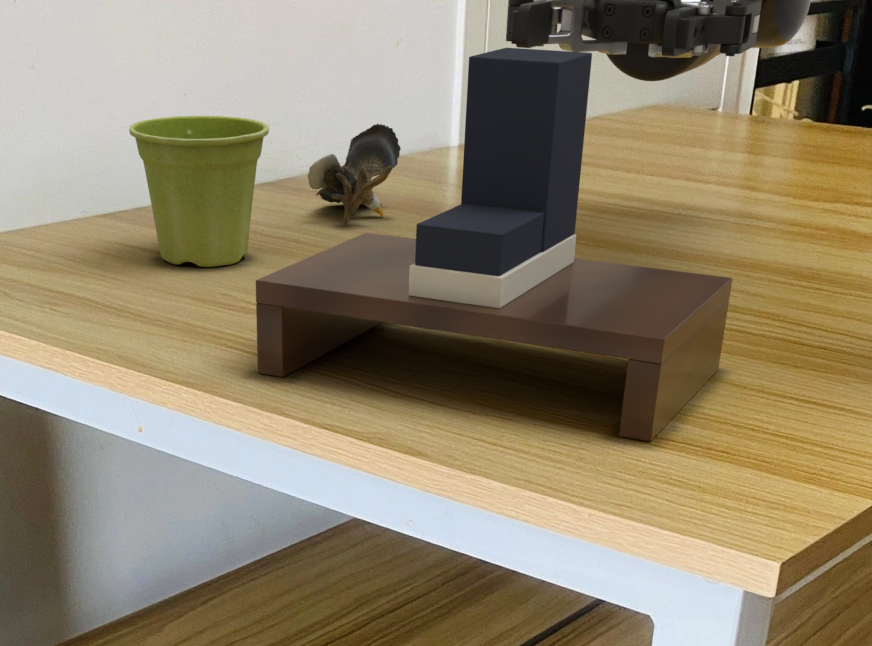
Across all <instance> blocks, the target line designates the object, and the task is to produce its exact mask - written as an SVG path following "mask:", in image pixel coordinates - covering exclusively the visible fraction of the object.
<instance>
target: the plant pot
mask: <svg viewBox="0 0 872 646" xmlns="http://www.w3.org/2000/svg"><path fill="white" fill-rule="evenodd" d="M128 131H129V135H130V136H132V137H133V138H135V144H136V147H137V152H138V155H139V157H140V159H141V161H142V162H143V167H144V173H145V177H146V183H147V188H148V194H149V200H150V204H151V209H152V213H153V214H152V216H153V221H154V228H155V233H156V238H157V243H158V248H159V253H160V257H161V259H162V260H163V261H166V262H168V263H170V264H173V265H182V264H184V263H192V264H195V265H196V266H198V267H204V268H214V267H217V266H218V267H219V266H230V265H234V264H236V263H238V262H240V261H241V259H242V258H243V257H247V255H248V248H249V240H250V239H249V238H250V229H251V221H252V219H251V218H252V211H253V201H254V194H255V193H254V192H255V185H256V184H255V183H256V177H257V175H256V174H257V166H258V160H259V159H260V157H261V154H262V151H263V143H264V138H265V137H266V136H267V135H268V134H269V132H270V127H269V125H268V124H267V123H265V122H263V121H261V120H256V119H251V118H246V117H238V116H224V115H181V116H179V115H178V116H168V117H167V116H165V117H158V118H157V117H156V118H152V119H145V120H141V121H137V122H134V123H133V124H130V126H129V128H128Z"/></svg>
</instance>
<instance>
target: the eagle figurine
mask: <svg viewBox="0 0 872 646" xmlns="http://www.w3.org/2000/svg"><path fill="white" fill-rule="evenodd" d="M401 150H402V148H401V146H400V144H399V138H398V137H397V134H396V133H395V131H394V130H393V128H392V127H389V126H388V125H385V124H382V123H376V124H373V125H372V126H370V127H369V128H367V129H365V130H363V131H361V132H360V133H358V135H355V136H354V137H352V138H351V139H350V144H349V147H348V151H347V155H346V158H345V163H344V165H342V166H341V164H340V161H339V160H338V158H337V156H336V154H333V153H330V154H327V155H325V156H322V157H321V158H319V159H317V160H316V161H314V162H313V163H312V165H311V166H309V169H308V173H307V179H308V185H309V187H310V188H311V189H312V190H318V191H317V192H316V195H315V196H316V197H317V196H319V197H321V200H323V201H326V202H329V203H336V204H340V203H342V204H343V206H344V214H343V219H342V224H343V226H344V227H347V226H348V224H349V222H350V221H351V220H352V218H353V217H355V216H356V211H359V207H360V206H361V205H364V206H366V207H367V208H368V209H370V211H372V212H374V213H376V214H378V215H379V216H380V217H381V218H385V214H384V211H383V204H382V203H381V201H380V200H379V198H378V196H377V195H376V194H375V192H374V191H373V189H374V188H375V187H377V186H379V185H381V184H382V183H383V182H385V181H386V180H387V179H388V178H389V175H390V174H391V172H392V170H393V169H394V168H396V166H398V162H399V161H398V159H399V157H400V152H401ZM319 189H320V190H319Z"/></svg>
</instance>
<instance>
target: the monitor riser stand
mask: <svg viewBox="0 0 872 646" xmlns="http://www.w3.org/2000/svg"><path fill="white" fill-rule="evenodd" d="M415 251H416V238H411V237H404V236H397V235H388V234H379V233H371V232H364V233H362V234H360V235H357V236H355V237H352V238H350V239H348V240H345V241H343V242H341V243H338V244H337V245H334V246H331V247H329V248H327V249H325V250H322V251H320V252H318V253H316V254H313V255H311V256H309V257H306V258H304V259H301V260H300V261H296V262H295V263H293V264H290V265H288V266H286V267H283V268H281V269H279V270H276V271H274V272H272V273H269V274H268V275H264V276H262V277H260V278H258V279H255V302H256V303H255V307H256V311H255V312H256V352H257V353H256V355H257V356H256V359H257V374H261V375H266V376H272V377H279V378H283V377H286V376H287V375H289V374H291V373H293V372H294V371H296V370H298V369H301V368H302V367H304V366H305V365H307V364H309V363H311V362H313V361H315V360H316V359H318V358H320V357H322V356H323V355H325V354H327V353H329V352H331V351H333V350H334V349H337V348H338V347H340V346H342V345H343V344H346V343H347V342H349V341H351V340H352V339H354V338H356V337H358V336H360V335H361V334H363V333H365V332H367V331H369V330H370V329H372V328H374V327H376V326H378V325H380V324H381V323H387V324H393V325H394V324H395V325H400V326H407V327H412V328H413V327H414V328H421V329H427V330H434V331H441V332H446V333H452V334H460V335H466V336H473V337H480V338H485V339H486V338H487V339H492V340H500V341H507V342H514V343H519V344H526V345H534V346H540V347H545V348H551V349H559V350H565V351H572V352H579V353H585V354H591V355H592V354H593V355H599V356H606V357H613V358H620V359H626V360H627V367H626V376H625V382H624V390H623V391H624V392H623V398H622V399H623V400H622V408H621V416H620V424H619V433H618V436H619V437H622V438H628V439H634V440H637V441H638V440H639V441H645V442H652V441H653V440H654V439H655V437H656V436H657V435H658V434H659V433H660V432H661V431H662V430H663V429H664V428H665V427H666V426H667V425H668V423H670V422H671V420H672V419H673V418H674V417H675V416H676V415H677V414H678V413H679V412H680V411H681V410H682V409H683V408H684V407H685V406H686V405H687V404H688V403H689V401H690V400H691V399H692V398H693V397H694V396H695V394H697V393H698V392H699V391H700V389H702V387H703V386H704V385H705V384H706V383H708V381H709V380H710V379H711V378H712V377H713V376H714V375H715V374H716V372H718V370H719V367H720V361H721V355H722V348H723V341H724V336H725V329H726V322H727V317H728V312H729V311H728V310H729V305H730V297H731V291H732V285H733V277H729V276H721V275H711V274H703V273H695V272H689V271H688V272H687V271H679V270H673V269H672V270H670V269H662V268H655V267H646V266H640V265H639V266H638V265H630V264H623V263H615V262H607V261H606V262H605V261H599V260H592V259H591V260H590V259H581V258H575V257H574V262H573V263H571V264H570V265H568V266H567V267H565V268H564V269H562V270H560V271H559V272H557V273H556V274H554V275H552V276H551V277H549V278H548V279H546V280H544V281H543V282H541V283H540V284H538V285H536V286H535V287H533V288H532V289H530V290H528V291H527V292H525V293H524V294H522V295H520V296H519V297H517V298H516V299H514V300H512V301H511V302H509V303H508V304H506V305H504V306H503V307H501V308H492V307H485V306H478V305H471V304H464V303H457V302H450V301H443V300H436V299H429V298H422V297H415V296H409V268H410V265H412V264H414V263H415Z"/></svg>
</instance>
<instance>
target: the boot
mask: <svg viewBox="0 0 872 646" xmlns="http://www.w3.org/2000/svg"><path fill="white" fill-rule="evenodd" d="M592 58H593V53H592V52H572V51H566V50H551V49H534V48H519V47H503V48H500V49H499V48H498V49H495V50H491V51H487V52H482V53H479V54H475V55H471V56H469V57H468V70H467V72H468V73H467V85H466V86H467V88H466V105H465V106H466V107H465V110H466V111H465V123H464V142H463V143H464V144H463V158H462V159H463V160H462V179H461V199H460V204H459V205H457V206H454V207H452V208H450V209H447V210H445V211H442V212H441V213H439V214H436V215H434V216H432V217H430V218H427V219H425V220H423V221H421V222H418V223H417V224H416V226H415V227H416V228H415V229H416V230H415V239H416V251H415V263H414V264H412V265H410V268H409V296H415V297H422V298H429V299H436V300H443V301H450V302H457V303H464V304H471V305H478V306H485V307H492V308H501V307H503V306H504V305H506V304H508V303H509V302H511V301H512V300H514V299H516V298H517V297H519V296H520V295H522V294H524V293H525V292H527V291H528V290H530V289H532V288H533V287H535V286H536V285H538V284H540V283H541V282H543V281H544V280H546V279H548V278H549V277H551V276H552V275H554V274H556V273H557V272H559V271H560V270H562V269H564V268H565V267H567V266H568V265H570V264H571V263H573V262H574V258H575V254H576V243H577V234H576V223H577V212H578V202H579V194H580V193H579V192H580V184H581V183H580V182H581V171H582V162H583V151H584V143H585V132H586V121H587V120H586V119H587V111H588V100H589V91H590V79H591V69H592Z"/></svg>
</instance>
